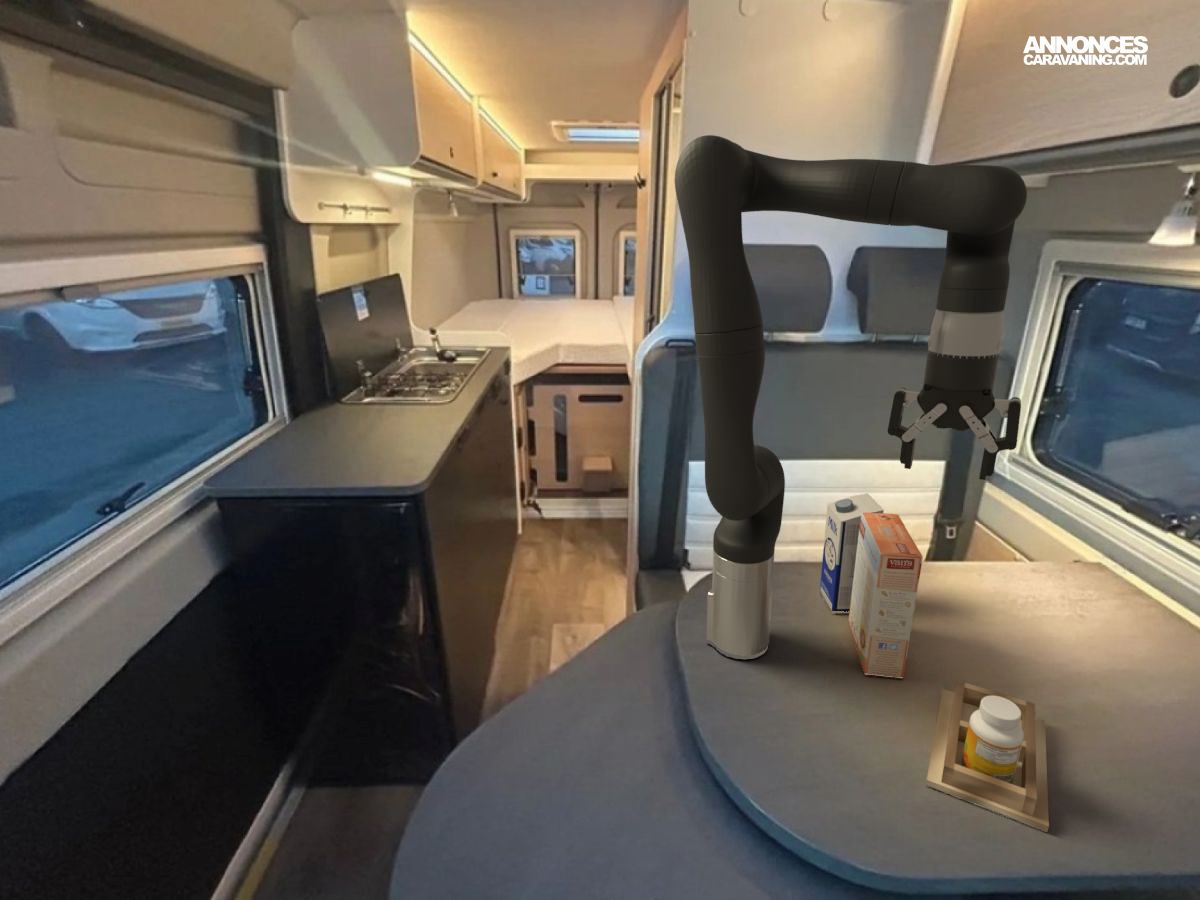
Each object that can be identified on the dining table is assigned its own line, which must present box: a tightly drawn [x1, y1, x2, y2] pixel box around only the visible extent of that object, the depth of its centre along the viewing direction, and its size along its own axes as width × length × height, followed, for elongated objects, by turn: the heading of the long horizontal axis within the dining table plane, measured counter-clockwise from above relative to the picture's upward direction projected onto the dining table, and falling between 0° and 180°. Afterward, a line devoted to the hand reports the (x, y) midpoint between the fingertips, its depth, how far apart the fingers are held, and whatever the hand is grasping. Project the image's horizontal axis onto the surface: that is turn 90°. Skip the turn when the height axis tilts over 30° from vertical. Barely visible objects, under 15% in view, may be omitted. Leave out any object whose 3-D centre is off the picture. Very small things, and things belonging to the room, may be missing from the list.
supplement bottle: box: [962, 696, 1024, 784], centre depth 73 cm, size 5×5×10 cm
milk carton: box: [819, 493, 885, 612], centre depth 107 cm, size 7×7×20 cm
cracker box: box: [847, 512, 924, 678], centre depth 95 cm, size 14×6×21 cm, turn 168°
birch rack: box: [925, 680, 1050, 833], centre depth 78 cm, size 12×18×4 cm, turn 147°
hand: (944, 472), depth 80 cm, fingers open, 8 cm apart
